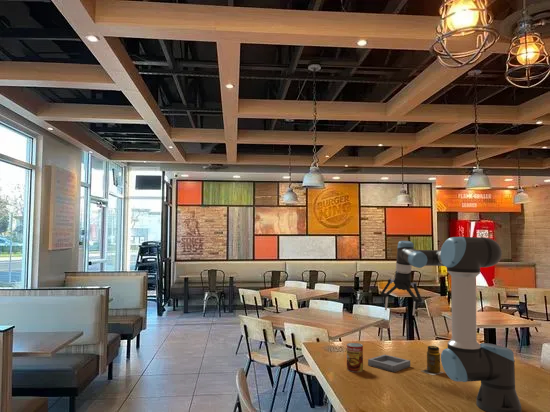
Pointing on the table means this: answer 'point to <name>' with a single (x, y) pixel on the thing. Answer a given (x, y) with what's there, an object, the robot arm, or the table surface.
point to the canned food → (354, 357)
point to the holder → (389, 363)
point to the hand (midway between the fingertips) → (399, 312)
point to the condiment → (433, 361)
